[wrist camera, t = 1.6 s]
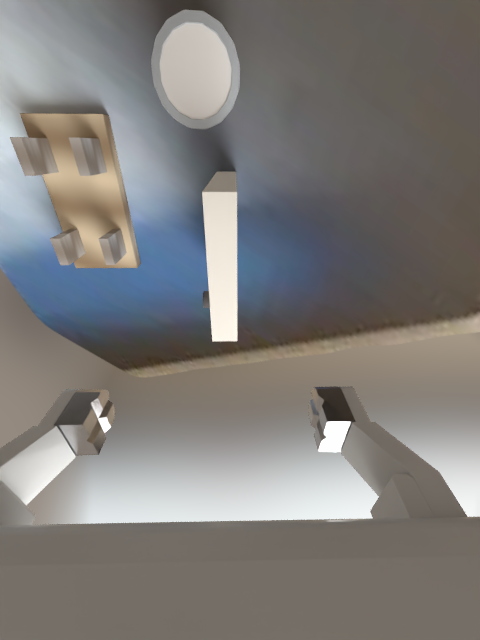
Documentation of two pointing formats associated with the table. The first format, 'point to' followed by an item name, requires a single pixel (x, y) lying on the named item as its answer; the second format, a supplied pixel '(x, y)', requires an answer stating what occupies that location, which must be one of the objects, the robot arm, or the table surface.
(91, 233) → the peg board base
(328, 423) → the robot arm
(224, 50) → the white cup
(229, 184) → the rectangular slab
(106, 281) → the table surface
